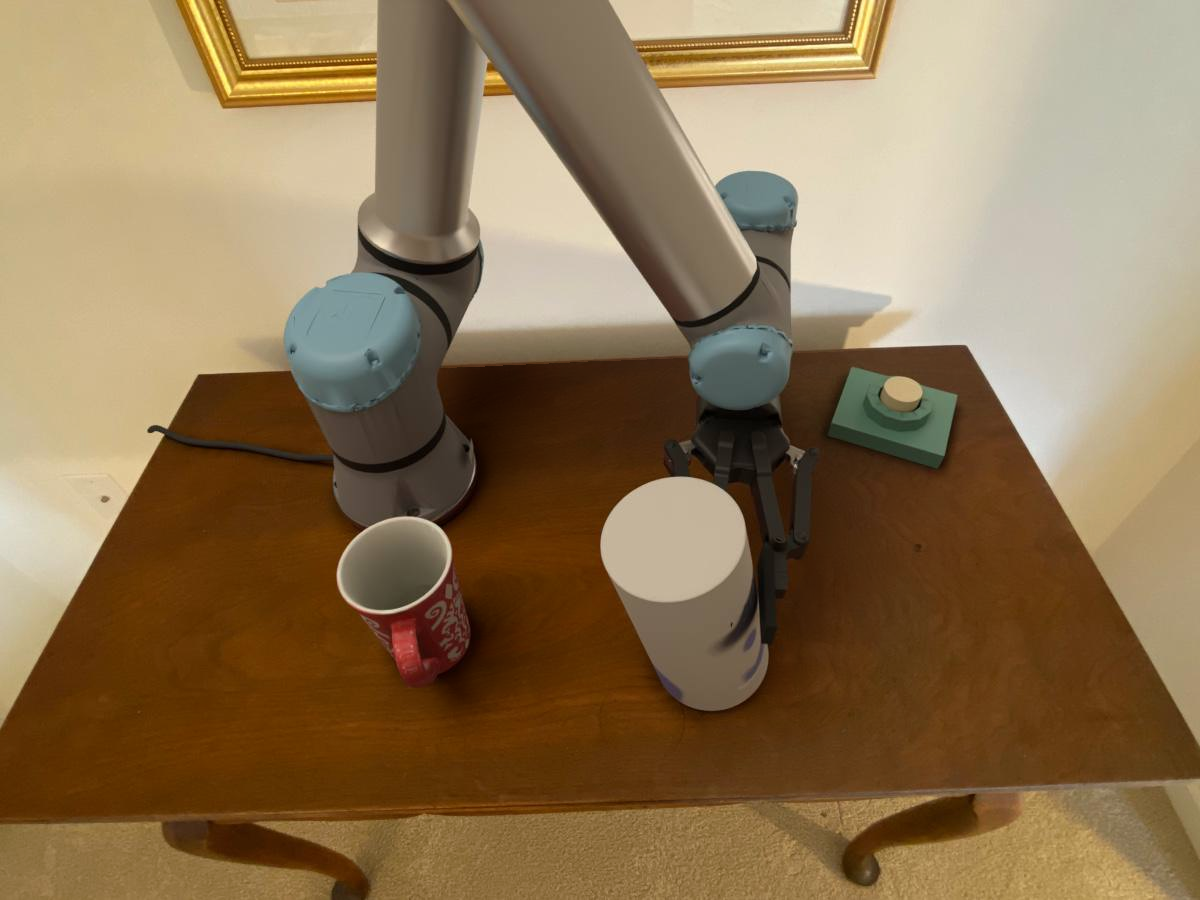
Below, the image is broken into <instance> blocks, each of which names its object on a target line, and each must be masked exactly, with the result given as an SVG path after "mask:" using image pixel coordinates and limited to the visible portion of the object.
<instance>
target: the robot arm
mask: <svg viewBox="0 0 1200 900" xmlns="http://www.w3.org/2000/svg"><path fill="white" fill-rule="evenodd" d="M376 12H377V15H376V17H377V21H376V24H377V25H376V85H375V87H376V89H375V93H376V94H375V147H374V148H375V150H374V151H375V152H374V153H375V155H374V160H375V161H374V192H373V193H371V194H369V195H368V196H367V197H365V199H364V200H363V201H362V202H361V204H360V205H359V208H358V210H357V219H356V221H357V257H356V260H355V261H356V262H355V265H354V268H353V269H352V270H351V272H350V273H346V274H341V275H338V276H335V277H333V278H332V277H331V278H330V279H328V280H326V281H325V284H326V285H325V286H324V287H323V286H322V287H318V286H315V287H313V288H311V289H310V290H309V291H307V292H306V294H304V295H303V296H302V297H301V298H300V299H299V300H298V301H297V302H296V304H295V305H294V306H293V308H292V309H291V311H290V313H289V315H288V317H287V319H286V322H285V326H284V331H283V347H284V352H285V355H286V358H287V360H288V362H289V363H288V364H289V366H290V371H291V375H292V378H293V379H294V382H295V384H296V386H297V389H299V390H300V392H301V394H302V395H303V397H304V399H305V401H306V403H307V404H308V406H309V408H310V410H311V412H312V414H313V417H314V418H315V420H316V422H317V424H318V426H319V428H320V431H321V432H322V434H323V436H324V438H325V440H326V441H327V444H328V446H329V447H330V449H331V451H332V453H333V454H305V453H304V454H303V453H294V452H289V451H283V450H279V449H275V448H271V447H266V446H261V445H255V444H252V443H251V444H250V443H244V442H238V441H237V442H236V441H225V440H209V439H199V438H193V437H187V436H184V435H181V434H178V433H176V432H174V431H173V430H170V429H168V428H166V427H164V426H162V425H159V424H153V425H149V427H148V428H147V430H146V432H147V433H149V434H153V433H155V432H158V433H160V434H162V435H163V436H164V435H165V436H167V437H168V438H171V439H173V440H174V441H177V442H180V443H182V444H187V445H192V446H199V447H205V448H207V447H208V448H220V449H234V450H243V451H250V452H254V453H260V454H264V455H268V456H273V457H277V458H282V459H287V460H294V461H299V462H300V461H301V462H331V463H333V468H334V470H333V475H332V491H333V496H334V499H335V501H336V503H337V505H338V507H339V509H340V511H341V513H342V515H343V516H344V517H345V519H346V520H347V521H348V522H349V524H351V525H352V526H353V527H354V528H356V529H358V530H359V531H361V532H362V531H364V530H365V529H367V528H368V527H370V526H372V525H374V524H376V523H378V522H381V521H384V520H387V519H390V518H395V517H404V516H410V517H418V518H423V519H426V520H429V521H431V522H433V523H435V524H436V525H438V526H439V527H441V526H443V525H444V524H446V523H447V522H449V521H450V520H452V519H453V518H455V516H456V515H458V514H459V513H460V512H461V511H462V510H463V509H464V507H465V506H466V505H467V504H468V502H469V501H470V499H471V498H472V496H473V494H474V492H475V489H476V486H477V482H478V476H479V469H478V468H479V467H478V463H477V460H476V459H477V458H476V455H475V451H474V444H473V439H472V438H470V440H469V439H468V438H467V436H466V435H465V434H464V433H463V432H462V431H461V430H460V429H459V428H458V426H457V425H456V424H455V423H454V422H453V420H451V419H450V417H448V415H447V414H446V412H445V408H444V404H443V401H442V398H441V395H440V391H439V388H438V375H439V371H440V369H441V367H442V364H443V362H444V360H445V357H446V355H447V353H448V351H449V350H450V347H451V344H452V342H453V340H454V338H455V336H456V334H457V332H458V330H459V328H460V325H461V324H462V321H463V319H464V316H465V315H466V313H467V310H468V308H469V306H470V304H471V303H472V301H473V299H474V297H475V295H476V294H477V292H478V290H479V288H480V285H481V281H482V277H483V271H484V265H485V264H484V263H485V253H484V248H483V243H482V240H481V226H480V223H479V219H478V218H477V216H476V215H475V213H474V212H473V210H472V209H471V208H469V203H470V196H471V189H472V181H473V175H474V174H473V173H474V167H475V160H476V153H477V152H476V151H477V144H478V143H477V142H478V136H479V128H480V123H481V122H480V121H481V113H482V106H483V101H484V100H483V97H484V91H485V83H486V76H487V69H488V63H489V62H490V64H491V65H492V66H493V67H494V69H495V70H496V71H497V73H498V74H499V76H500V77H501V79H502V80H503V82H504V83H505V84H506V86H507V87H508V88H509V90H510V91H511V94H513V96H514V97H515V99H516V100H517V102H518V103H519V104H520V106H521V107H522V108H523V110H524V111H525V113H526V114H527V115H528V117H529V118H530V120H531V121H532V123H533V124H534V125H535V127H536V128H537V130H538V131H539V133H540V134H541V136H542V137H543V138H544V140H545V141H546V142H547V144H548V145H549V146H550V148H551V150H552V151H553V152H554V154H555V155H556V157H557V158H558V159H559V161H560V162H561V163H562V165H563V166H564V168H565V169H566V171H567V172H568V174H569V175H570V176H571V177H572V179H573V180H574V182H575V184H577V186H578V188H579V189H580V190H581V192H582V193H583V195H584V196H585V197H586V198H587V200H588V202H589V204H591V206H592V208H593V209H594V210H595V211H596V212H597V214H598V215H599V217H600V218H601V220H602V222H603V223H604V224H605V226H606V227H607V228H608V230H609V231H610V233H611V234H612V236H613V237H614V238H615V239H616V241H617V242H618V244H619V245H620V247H621V248H622V250H623V251H624V252H625V254H626V255H627V257H628V258H629V259H630V261H631V262H632V263H633V265H634V267H635V268H636V269H637V270H638V272H639V274H640V275H641V276H642V278H643V280H645V282H646V283H647V285H648V286H649V288H650V289H651V290H652V292H653V293H654V294H655V296H656V297H657V299H658V300H659V302H660V303H661V304H662V306H663V307H664V308H665V310H666V312H667V313H668V314H669V316H670V317H671V319H672V321H673V322H674V324H675V325H676V327H677V328H678V331H680V333H681V335H682V336H683V337H684V339H685V340H686V341H687V343H688V345H689V347H690V351H689V352H688V356H687V363H688V365H689V377H690V378H689V379H690V382H691V385H692V387H693V389H694V391H695V392H696V405H695V406H696V407H695V410H696V411H695V413H696V415H695V430H694V431H693V432H692V433H691V436H690V439H688V440H685V441H684V440H683V441H682V442H679V441H678V440H676V439H674V438H670V439H667V440H665V442H664V447H663V462H662V463H663V466H664V467H665V469H666V470H667V472H668V474H669V476H670V477H691V471H690V467H691V465H692V459H693V456H694V457H695V459H697V460H698V461H699V463H700V464H701V465H702V466H703V467H704V468H705V469H706V471H707V472H708V473H709V474H710V475H711V476H712V477H713V479H712V484H714V485H716V486H718V487H720V488H721V489H723V490H724V491H725V492H726V493H728V486H729V484H734V483H742V484H745V485H748V486H749V490H750V495H751V497H753V498H752V499H753V504H754V508H755V513H756V518H757V522H758V528H759V532H760V537H761V542H762V546H761V549H760V552H759V556H758V560H757V564H756V573H757V574H756V577H757V578H756V579H757V591H758V598H759V617H760V636H761V644H767V645H772V644H773V642H774V639H775V636H776V633H777V630H778V627H779V625H778V614H777V613H778V612H777V600H784V599H785V596H786V593H787V590H788V587H789V585H790V583H789V573H788V572H789V571H788V570H789V569H788V560H790V559H793V560H798V561H799V560H801V559H803V558H804V555H805V554H806V550H807V548H808V545H809V541H810V538H811V520H812V518H811V517H812V515H811V514H812V489H813V476H814V474H815V471H816V468H817V465H818V462H819V459H820V457H821V451H820V450H819V449H818V448H817V447H813V446H809V447H807V448H806V449H805V450H803V449H800V448H799V447H798V448H797V447H796V446H793V445H791V440H790V439H789V437H788V435H787V434H786V433H785V432H784V428H783V427H784V426H783V417H782V407H781V406H782V405H781V396H780V394H781V393H782V392H783V391H784V389H785V388H786V386H787V384H788V381H789V378H790V373H791V371H790V370H791V362H792V361H791V360H792V359H791V358H792V356H793V354H794V342H793V340H792V338H793V337H792V336H793V335H792V299H791V298H792V296H791V294H792V253H791V252H792V251H791V250H792V242H793V235H794V231H795V228H796V227H797V225H798V220H797V214H798V213H797V212H798V207H799V194H798V191H797V189H796V187H795V186H794V184H793V183H792V182H790V181H789V180H788V179H786V178H784V177H783V176H781V175H778V174H776V173H773V172H769V171H765V170H764V171H763V170H762V171H761V170H741V171H737V172H734V173H731V174H728V175H725V176H724V177H723V178H721V179H720V180H718V181H717V182H716V184H714V182H713V181H712V179H711V177H710V176H709V173H708V171H707V170H706V168H705V167H704V165H703V163H702V161H701V159H700V158H699V156H698V153H696V151H695V149H694V147H693V145H692V144H691V142H690V140H689V138H688V137H687V135H686V133H685V131H684V129H683V128H682V126H681V125H680V122H679V121H678V119H677V117H676V116H675V113H674V112H673V111H672V108H671V107H670V105H669V103H668V102H667V100H666V97H664V95H663V93H662V91H661V89H660V88H659V86H658V84H657V82H656V81H655V79H654V77H653V75H652V74H651V72H650V70H649V68H648V66H647V65H646V63H645V61H644V60H643V58H642V56H641V55H640V53H639V51H638V49H637V48H636V46H635V44H634V42H633V41H632V39H631V36H630V35H629V33H628V31H627V30H626V28H625V26H624V25H623V23H622V21H621V19H620V17H619V15H618V14H617V12H616V11H615V8H614V6H613V5H612V4H611V2H610V0H377V11H376ZM784 461H785V462H787V463H788V471H789V472H790V476H791V477H793V481H792V484H791V485H792V486H791V498H790V512H789V513H790V515H789V516H790V517H789V531H788V533H789V534H788V535H786V534H785V528H784V524H783V520H782V516H781V512H780V507H779V502H778V498H777V494H776V489H775V486H774V485H775V484H774V480H773V473H774V472H775V471H776V470H777V468H779V466H780V465H781V464H782V463H783V462H784ZM732 624H733V622H732V623H731V628H732Z"/></svg>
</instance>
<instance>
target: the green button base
mask: <svg viewBox="0 0 1200 900" xmlns="http://www.w3.org/2000/svg"><path fill="white" fill-rule="evenodd" d="M897 376H898V375H884V374H882V373H881V374H880V373H877V372H874V371H871V370H870V371H869V370H866V369H862V368H859V367H855V366H851V367H850V370H849V373H848V375H847V378H846V380H845V384H844V386H843V389H842V392H841V395H840V397H839V400H838V403H837V406H836V409H835V411H834V414H833V417H832V420H831V422H830V425H829V429H828V432H827V436H828V437H830V438H833V439H837V440H840V441H844V442H846V443H850V444H853V445H857V446H860V447H863V448H867V449H870V450H873V451H876V452H880V453H883V454H887V455H890V456H893V457H895V458H900V459H903V460H906V461H910V462H912V463H915V464H920V465H923V466H926V467H930V468H933V469H936V470H938V469H939V467H941V464H942V462H943V460H944V458H945V456H946V450H947V447H948V441H949V437H950V433H951V428H952V424H953V418H954V416H955V415H954V414H955V411H956V410H955V409H956V406H957V401H958V394H955V393H952V392H947V391H944V390H940V389H937V388H932V387H929V386H926V385H922V384H920V383H919V382H917V383H918V384H919V385H920V386H921V388H922V392H923V393H922V396H921V399H920V401H919V403H918V406H917V407H916V409H915V410H913V411H911V412H906V413H901V412H897V411H894V410H890V409H889V408H888V407H886V406H885V405H884V404H883V403H882V402H881V399H880V395H881V392H882V390H883V387H884V384H885V382H886V381H887V380H888V379H890V378H892V377H897Z"/></svg>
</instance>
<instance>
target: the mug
mask: <svg viewBox="0 0 1200 900" xmlns="http://www.w3.org/2000/svg"><path fill="white" fill-rule="evenodd" d="M451 543H452V542H451V540H450V538H449V537H448V535H447V533H446V532H445V531H444V530H443V529H442V528H441V526H438V525H436V524H435V523H433V522H431V521H429V520H426V519H423V518H418V517H410V516H404V517H395V518H390V519H387V520H384V521H381V522H378V523H376V524H374V525H372V526H370V527H368V528H367V529H365V530H364V531H361V532H360V533H358V534H357V535H356V536H355V537H354V538H353V539H352V540H351V541H350V542H349V543H348V544H347V546H346V547H345V549H344V550H343V552H342V554H341V556H340V558H339V561H338V564H337V568H336V577H335V578H336V586H337V589H338V592H339V594H340V596H341V598H342V599H343V600H344V601H345V603H347V604H348V605H349V606H350V607H351V608H353V609H355V611H356V612H357V613H358V615H359V616H360V618H361V619H362V620H363V621H364V623H366V624H365V625H367V626H368V627H369V629H370V630H371V631H372V632H373V634H374V635H375V637H376V638H377V639H378V641H379V642H380V643H381V645H383V647H384V648H385V650H386V651H387V652H388V653H389V654H390V656H391V657H392V658H393V660H394V661H395V663H396V667H397V669H398V673H399V675H400V677H401V678H402V680H403V682H404V684H405V685H407V687H409V688H412V689H413V688H420V687H424V686H426V685H430V684H431V683H433V682H434V681H435V679H436V678H437V676H438V675H439V674H442V673H444V672H447V671H448V670H450V669H451V668H453V667H454V666H455V665H457V664H458V663H459V662H460V661H461V659H462V658H463V657H464V655H465V654H466V652H467V650H468V647H469V644H470V640H471V626H470V622H469V618H468V615H467V611H466V607H465V604H464V599H463V594H462V591H461V587H460V583H459V580H458V575H457V572H456V567H455V564H454V560H453V555H454V553H453V547H452V544H451Z"/></svg>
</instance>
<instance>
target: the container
mask: <svg viewBox="0 0 1200 900" xmlns="http://www.w3.org/2000/svg"><path fill="white" fill-rule="evenodd" d="M748 537H749V536H748V532H747V527H746V522H745V518H744V515H743V513H742V510H741V508H740V506H739V505H738V504H737V502H736V501H735V500H734V498H733V497H732V496H731V495H730V494H729V493H728V492H727V493H726V492H725V491H724V490H723V489H721V488H720V487H718V486H716V485H714V484H713V482H710V481H707V480H704V479H701V478H696V477H691V476H690V477H671V476H670V477H663V478H660V479H659V478H658V479H655V480H651V481H649V482H647V483H645V484H643V485H639V487H637V488H635V489H633V490H632V491H631V492H629V493H628V494H627V495H625V496H624V497H623V498H622V499H621V500H620V501H619V502H618V503H617V504H616V505H615V506H614V507H613V509H612V510H611V511H610V513H609V515H608V516H607V518H606V520H605V523H604V525H603V528H602V531H601V536H600V544H599V545H600V556H601V560H602V563H603V566H604V568H605V570H606V572H607V574H608V576H609V579H610V580H611V582H612V584H613V587H614V589H615V591H616V593H617V594H618V596H619V598H620V601H621V603H622V605H623V607H624V609H625V611H626V613H627V615H628V617H629V619H630V621H631V623H632V626H633V627H634V629H635V631H636V634H637V635H638V637H639V640H640V642H641V644H642V646H643V647H644V651H645V652H646V654H647V656H648V658H649V659H650V662H651V664H652V666H653V668H654V670H655V672H656V674H657V676H658V678H659V680H660V683H661V684H662V686H663V687H664V689H665V690H666V691H667V692H668V693H669V695H671V696H672V697H673V698H674V699H675V700H677V701H678V702H679V703H681V704H683V705H685V706H687V707H689V708H692V709H695V710H699V711H707V712H714V711H715V712H717V711H723V710H729V709H731V708H734V707H735V706H738V705H740V704H741V703H744V702H745V701H746V700H748V699H749V698H750V697H751V696H752V695H753V694H754V693H755V692H756V691H757V690H758V689H759V687H760V686H761V684H762V682H763V680H764V678H765V676H766V674H767V670H768V665H769V657H770V656H769V655H770V654H769V647H768V644H761V636H760V617H759V598H758V585H757V582H756V575H755V571H754V565H753V559H752V554H751V548H750V544H749V538H748ZM732 622H733V624H732V628H731V623H732Z"/></svg>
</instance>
